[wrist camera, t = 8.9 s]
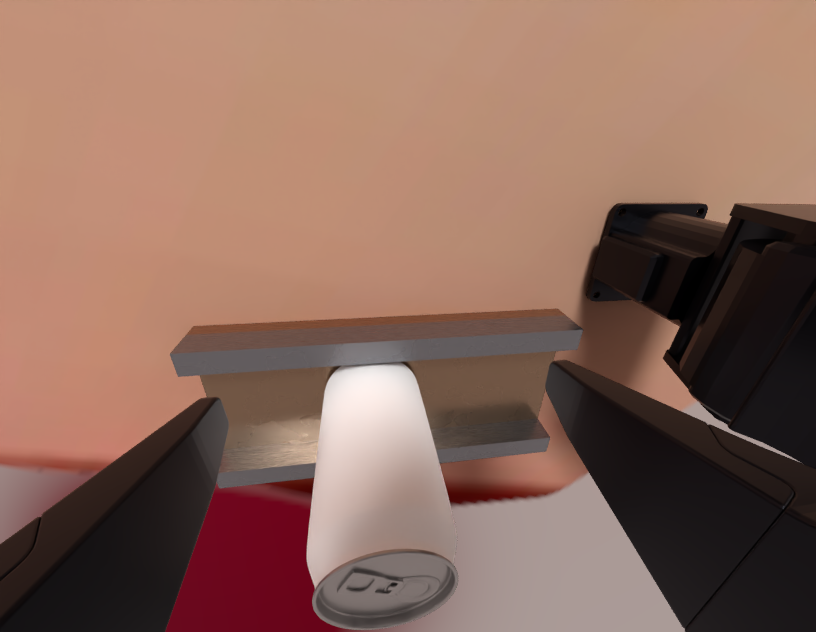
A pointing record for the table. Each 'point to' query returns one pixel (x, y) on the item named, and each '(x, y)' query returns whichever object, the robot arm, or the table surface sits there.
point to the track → (366, 344)
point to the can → (378, 504)
